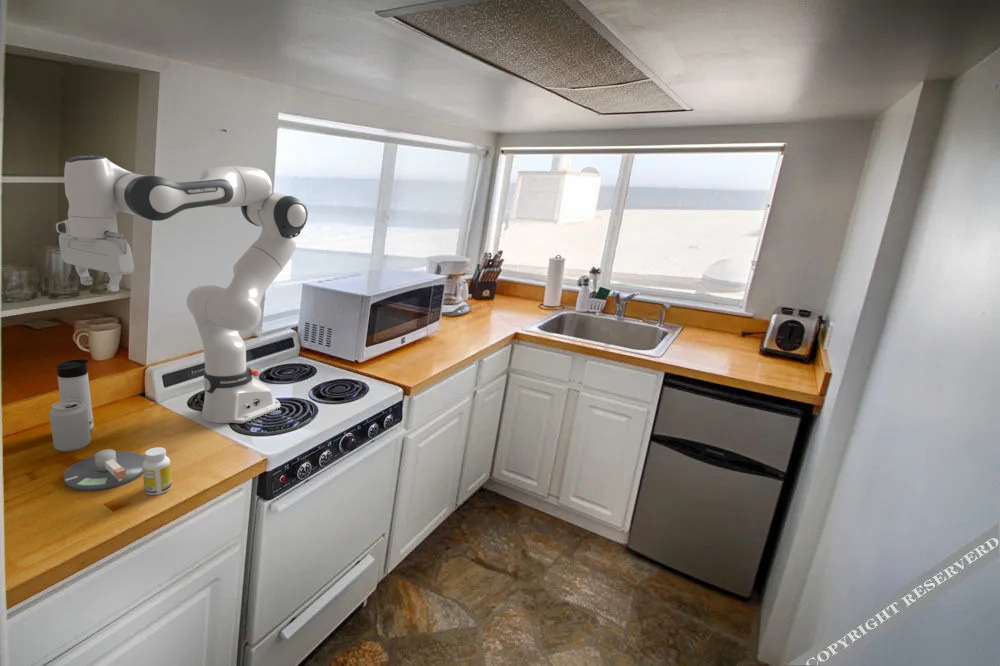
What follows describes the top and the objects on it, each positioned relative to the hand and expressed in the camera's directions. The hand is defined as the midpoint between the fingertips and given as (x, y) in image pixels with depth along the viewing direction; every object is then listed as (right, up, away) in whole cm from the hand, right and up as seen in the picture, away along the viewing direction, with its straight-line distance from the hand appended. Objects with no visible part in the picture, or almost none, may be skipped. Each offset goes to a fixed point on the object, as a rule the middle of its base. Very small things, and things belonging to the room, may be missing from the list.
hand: (100, 287), depth 124 cm
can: (-16, -40, +11) cm, 45 cm away
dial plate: (0, -44, +2) cm, 44 cm away
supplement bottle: (+15, -47, -2) cm, 50 cm away
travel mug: (-20, -38, +19) cm, 46 cm away
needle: (+3, -44, 0) cm, 44 cm away
